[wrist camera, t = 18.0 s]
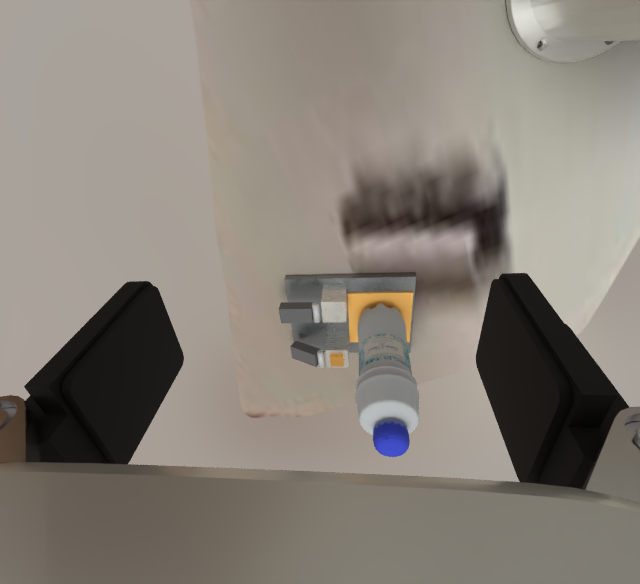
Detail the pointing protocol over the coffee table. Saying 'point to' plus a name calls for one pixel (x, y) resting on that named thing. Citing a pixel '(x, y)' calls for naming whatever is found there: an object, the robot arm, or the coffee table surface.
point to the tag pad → (371, 299)
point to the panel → (354, 285)
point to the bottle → (386, 381)
